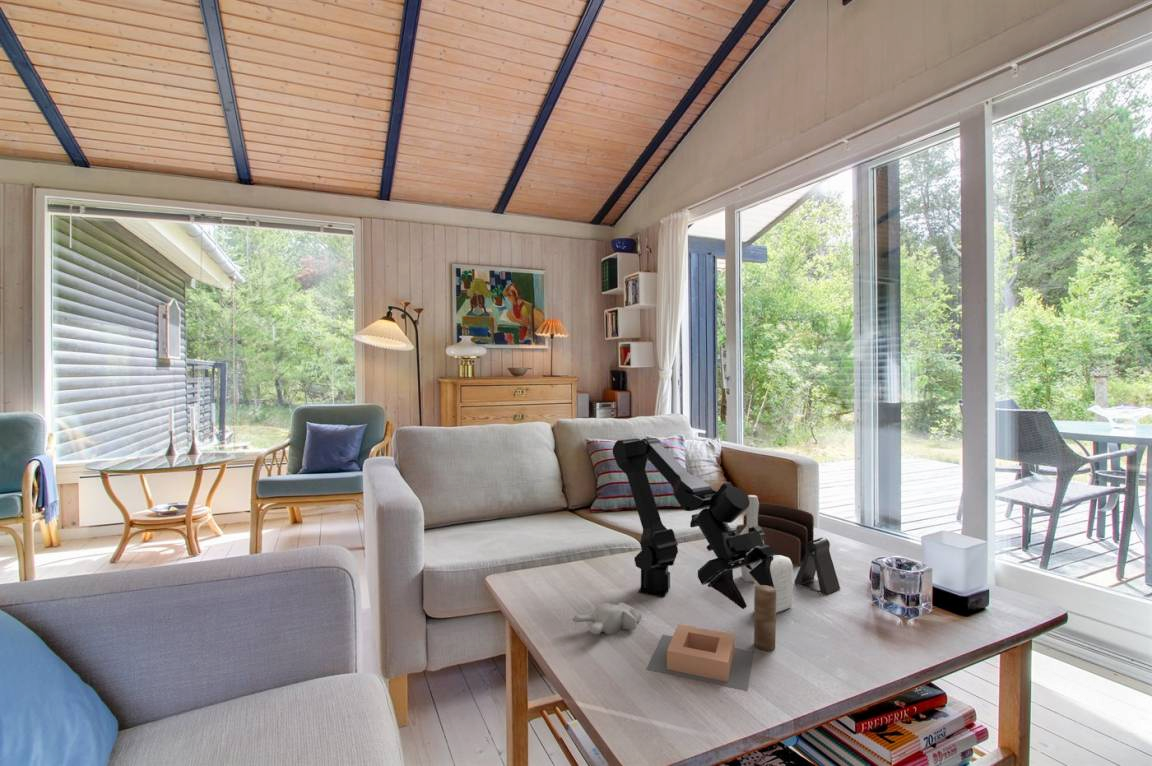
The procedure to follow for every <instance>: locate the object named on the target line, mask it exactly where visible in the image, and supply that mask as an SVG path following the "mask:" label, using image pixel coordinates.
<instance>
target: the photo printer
mask: <svg viewBox="0 0 1152 766" xmlns="http://www.w3.org/2000/svg"><path fill="white" fill-rule="evenodd" d="M793 570H794V565H793V564H792V562H791V560H790V559H789V558H788V557H785V556H781V555H775V556H773V561H771V565H770V572H771V577H772V580H773V584H774V588H775V589H776V614H777V613H779V612H782V611H785V610H787V609H789V608H792V607H793V606H792V605H793V578H794V577H793V575H794V574H793V572H794V571H793ZM753 583H754V585H753V610H754V611H755V587H756V586H759V585H760V584H759V583H758V582H757V581H756V580H755V579H754V582H753Z"/></svg>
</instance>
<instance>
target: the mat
mask: <svg viewBox="0 0 1152 766" xmlns="http://www.w3.org/2000/svg"><path fill="white" fill-rule="evenodd" d="M672 638H673V635H668V634H662V635H661V638H660V640H659V641H658V644H657V646H656V648H655V650H654V652H653V654H652V656H651V658H650V661H649V663H648V665H647V667H646V670H647V671H652V672H656V673H660V674H666V675H670V676H674V677H678V678H679V677H680V678H684V679H690V680H694V681H697V682H698V681H699V682H704V683H708V684H712V685H713V684H714V685H718V686H720V687H721V686H722V687H726V688H727V687H728V688H732V689H737V690H741V691H745V692H748V691H749V685H750V684H749V683H750V679H751V678H750V677H751V672H752V671H751V670H752V665H753V664H752V663H753V656H754V655H753V654H754V651H753V650H747V649H742V648H737V647H734V654H733V659H732V664H731V669H730V674H729V679H728V682H726V681H722V680H717V679H712V678H707V677H702V676H698V675H693V674H688V673H683V672H678V671H674V670H669V669H667V649H668V647H669V645H670V642H671V640H672Z"/></svg>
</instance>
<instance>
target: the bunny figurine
mask: <svg viewBox="0 0 1152 766" xmlns="http://www.w3.org/2000/svg"><path fill="white" fill-rule="evenodd" d="M642 613H643V612H641V611H639V610H638V609H636V608H634V607H632V606H630V605H628V604H626V603H624V602H619V603H618V604H612V603H608V602H607V603H606V602H603V603H599V604H597V605H595V608H594V610H593V612H592V614H577V613H575V615H574V616H573V618H572V622H574V623H585V622H592V623H591V624H589V625H588V628H589V632H590V633H591V634H593V635H599V634H601V633H602V632H603V633H604V634H607V635H613V634H615V633H617V632H619V631H621V630H633V631H634V630H636V629H637V624H638V623H639V621H640V620H642Z"/></svg>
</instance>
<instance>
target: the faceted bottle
mask: <svg viewBox="0 0 1152 766" xmlns="http://www.w3.org/2000/svg"><path fill="white" fill-rule="evenodd" d="M747 496H748V498H749V502H750V504H749V507H748V508H747V509H746V514H747V526H746V527H745V528H744V530H743V531H742V532H741V533H740V535H742V534H746V533H748V529H749V528H751V527H754V526H758V509H759V498H758V495H755V494H748V495H747ZM763 544H764V540H763ZM757 547H758V546H757ZM753 549H754V548H753ZM753 549H752V550H753ZM752 550H751V551H752ZM751 551H750V552H751ZM748 553H749V552H748ZM748 553H746V555H747V554H748ZM740 569H741V570H740V571H741V577H742V578H741V579H742V580H744V581H745V580H746V581H745V582H749V581H751V583H754V578H753V577H752V576H751V574H750V573H749V572H750V571H751V570H750V569H748V568H747V567H746V566H743V567H740Z"/></svg>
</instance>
